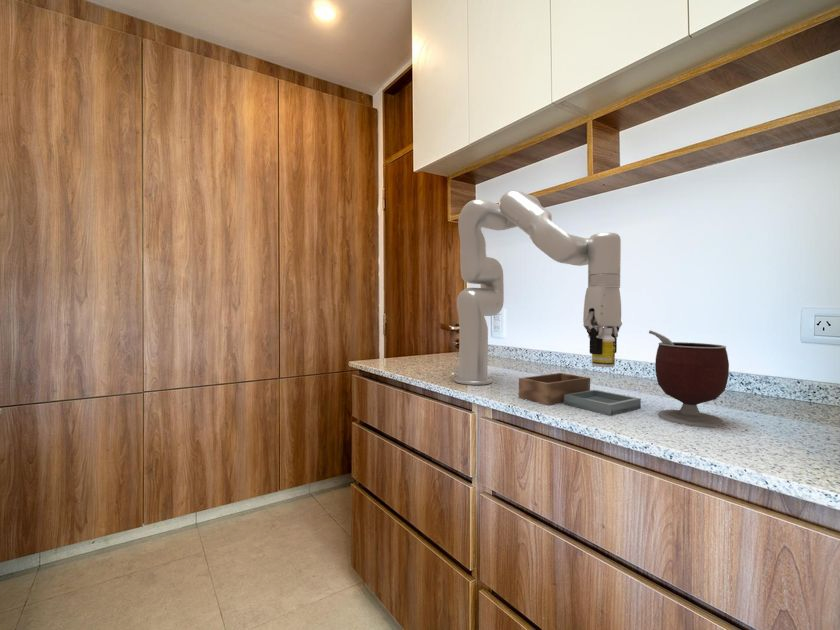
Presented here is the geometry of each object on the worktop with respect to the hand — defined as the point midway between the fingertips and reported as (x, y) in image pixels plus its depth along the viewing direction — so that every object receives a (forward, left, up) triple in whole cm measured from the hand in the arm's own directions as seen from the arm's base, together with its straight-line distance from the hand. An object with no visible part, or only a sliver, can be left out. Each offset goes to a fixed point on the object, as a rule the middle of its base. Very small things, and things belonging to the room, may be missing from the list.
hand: (603, 352), depth 104 cm
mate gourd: (+17, +6, -14) cm, 23 cm away
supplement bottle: (0, 0, -4) cm, 4 cm away
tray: (0, 0, -14) cm, 14 cm away
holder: (-13, -2, -14) cm, 19 cm away
